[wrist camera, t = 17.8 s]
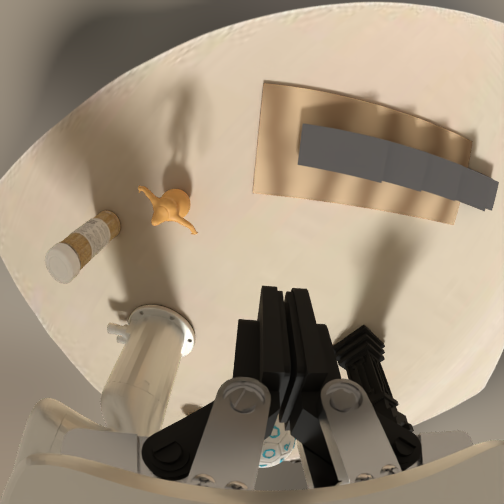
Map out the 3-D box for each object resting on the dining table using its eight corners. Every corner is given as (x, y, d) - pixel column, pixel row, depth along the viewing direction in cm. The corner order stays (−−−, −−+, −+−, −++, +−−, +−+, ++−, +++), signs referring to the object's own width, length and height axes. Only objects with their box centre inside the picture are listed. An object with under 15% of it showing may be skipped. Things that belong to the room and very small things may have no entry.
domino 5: (454, 198, 30) (491, 210, 30) (462, 165, 28) (498, 182, 28) (448, 194, 32) (485, 206, 32) (455, 163, 30) (492, 179, 30)
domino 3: (389, 181, 30) (455, 201, 28) (396, 143, 28) (462, 165, 26) (387, 178, 32) (450, 198, 29) (393, 143, 30) (458, 164, 27)
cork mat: (252, 192, 34) (252, 193, 34) (263, 83, 28) (263, 83, 27) (452, 224, 34) (453, 225, 34) (470, 140, 28) (472, 141, 28)
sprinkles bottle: (97, 234, 37) (47, 279, 25) (96, 207, 35) (40, 246, 23) (122, 239, 38) (74, 289, 26) (122, 211, 36) (69, 254, 24)
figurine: (148, 192, 34) (103, 224, 24) (173, 157, 32) (132, 176, 22) (194, 229, 37) (168, 275, 26) (222, 197, 35) (203, 233, 24)
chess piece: (363, 324, 44) (399, 421, 26) (383, 343, 46) (416, 430, 28) (328, 349, 46) (348, 445, 28) (351, 365, 49) (372, 452, 31)
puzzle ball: (304, 414, 58) (308, 466, 44) (254, 429, 62) (252, 477, 49) (271, 389, 52) (272, 451, 39) (217, 406, 57) (210, 461, 43)
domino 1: (297, 164, 30) (381, 183, 28) (302, 123, 28) (389, 140, 25) (300, 163, 32) (379, 180, 29) (305, 123, 30) (387, 140, 27)
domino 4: (428, 191, 30) (484, 211, 27) (435, 156, 28) (492, 178, 25) (425, 188, 32) (480, 208, 29) (432, 155, 30) (487, 176, 27)
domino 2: (344, 172, 30) (420, 191, 28) (351, 131, 28) (428, 153, 26) (345, 170, 32) (417, 189, 29) (350, 132, 30) (424, 152, 27)
